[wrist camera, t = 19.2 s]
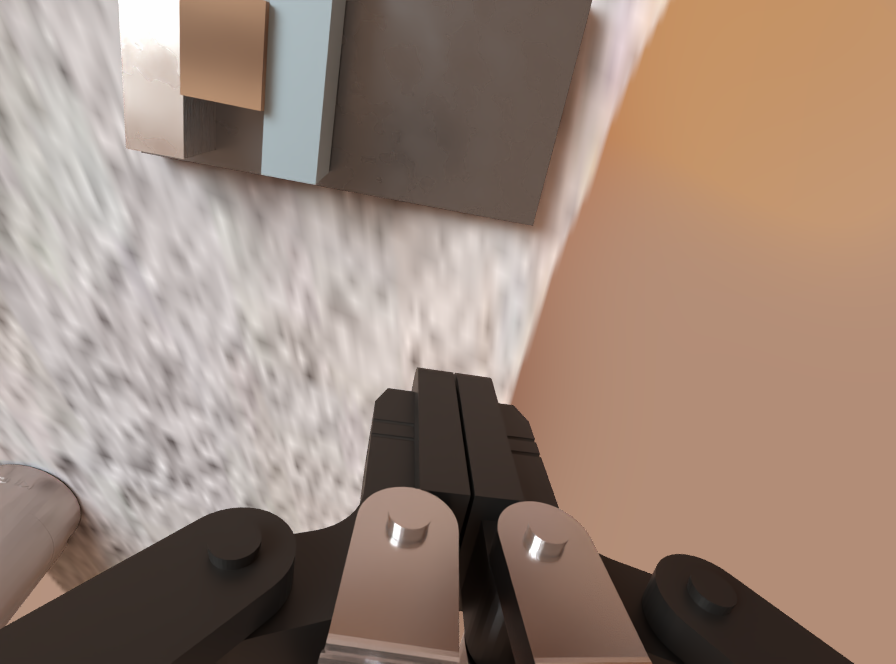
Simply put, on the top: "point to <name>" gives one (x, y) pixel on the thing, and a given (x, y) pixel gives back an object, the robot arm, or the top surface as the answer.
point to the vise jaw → (301, 87)
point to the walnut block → (224, 51)
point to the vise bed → (390, 100)
